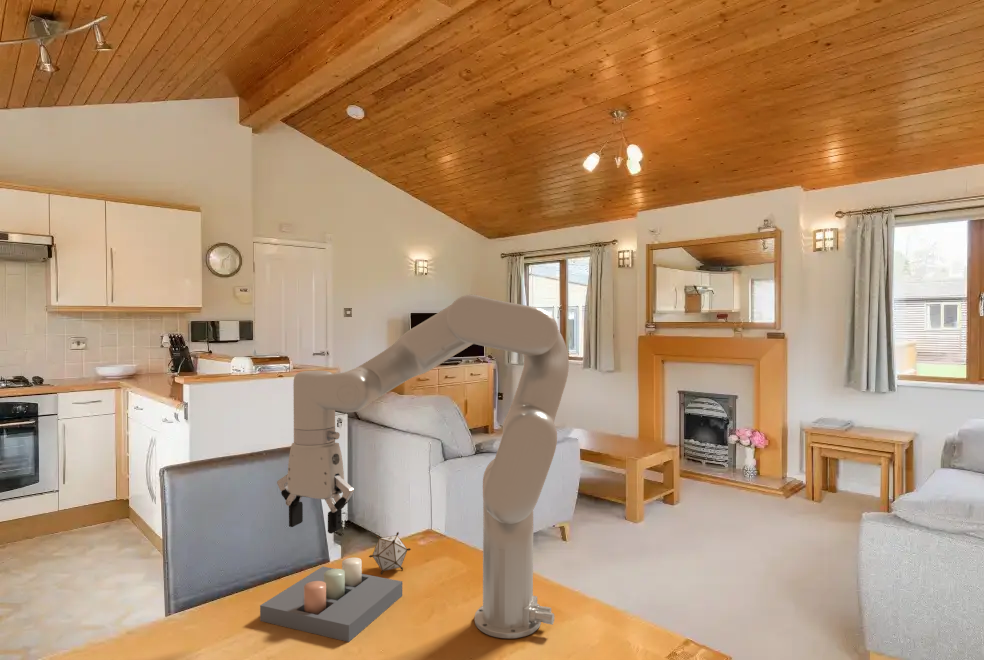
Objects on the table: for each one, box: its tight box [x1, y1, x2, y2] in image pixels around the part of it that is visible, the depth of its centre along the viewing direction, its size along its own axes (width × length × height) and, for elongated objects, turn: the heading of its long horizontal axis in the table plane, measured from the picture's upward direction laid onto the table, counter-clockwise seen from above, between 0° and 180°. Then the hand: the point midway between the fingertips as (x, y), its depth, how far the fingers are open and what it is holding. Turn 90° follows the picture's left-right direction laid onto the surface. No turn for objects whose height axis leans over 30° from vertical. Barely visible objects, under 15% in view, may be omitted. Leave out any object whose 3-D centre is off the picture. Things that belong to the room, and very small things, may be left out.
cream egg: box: [341, 557, 363, 587], centre depth 125 cm, size 4×4×5 cm
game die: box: [368, 531, 412, 575], centre depth 137 cm, size 9×8×10 cm
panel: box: [259, 566, 403, 643], centre depth 119 cm, size 20×19×3 cm
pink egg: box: [304, 581, 326, 615], centre depth 113 cm, size 4×4×5 cm
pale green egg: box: [324, 568, 345, 601], centre depth 119 cm, size 4×4×5 cm
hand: (314, 527), depth 113 cm, fingers open, 8 cm apart
